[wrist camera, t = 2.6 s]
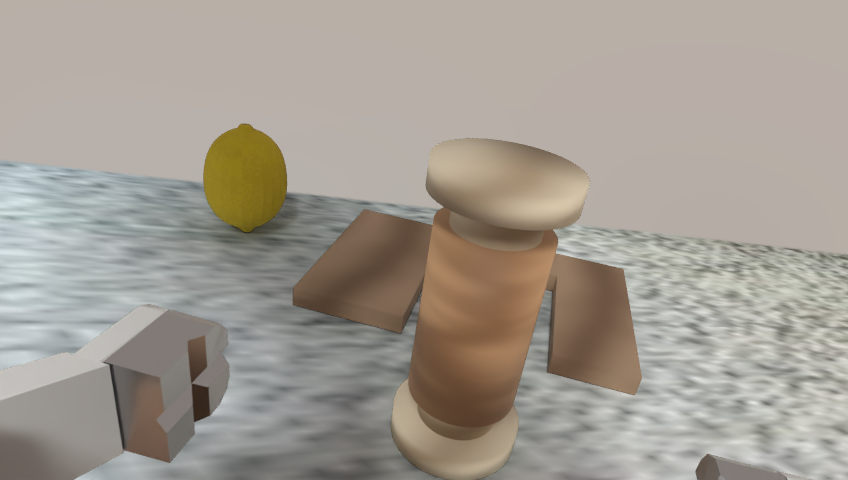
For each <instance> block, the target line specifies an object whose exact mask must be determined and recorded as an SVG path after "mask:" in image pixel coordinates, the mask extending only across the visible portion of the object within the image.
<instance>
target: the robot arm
mask: <svg viewBox="0 0 848 480" xmlns="http://www.w3.org/2000/svg"><path fill="white" fill-rule="evenodd" d="M227 345H228V335H227V329H226V328H225V327H224V326H222V325H221V324H218V323H214V322H211V321H207V320H204V319H201V318H197V317H194V316H190V315H187V314H183V313H180V312H177V311H171V310H168V309H164V308H161V307H158V306H154V305H151V304H146V305H140V306H139V307H137V308H136V309H134V310H133V311H132V312H130V313H129V314H128V315H126V316H125V317H124V318H122V319H121V320H119V321H118V322H117V323H115V324H114V325H113V326H111V327H110V328H108V329H107V330H106V331H104V332H103V333H102V334H100V335H99V336H98V337H96V338H95V339H93V340H92V341H91V342H89V343H88V344H87V345H85V346H84V347H83V348H81V349H80V350H78V351H77V352H76V353H74V354H71V353H67V352H64V353H60V354H57V355H53V356H50V357H46V358H42V359H39V360H35V361H32V362H28V363H25V364H21V365H18V366H14V367H11V368H7V369H4V370H0V480H74V479H75V478H77V477H79V476H81V475H83V474H85V473H87V472H89V471H91V470H92V469H94V468H96V467H98V466H100V465H102V464H104V463H106V462H107V461H109V460H111V459H113V458H115V457H117V456H119V455H121V454H123V452H124V451H123V450H125V451H129V452H132V453H136V454H139V455H143V456H146V457H150V458H154V459H157V460H161V461H164V462H168V463H170V462H171V461H172V460H173V459H174V458H175V457H176V455H177V454H178V453H179V452H180V451H181V450H182V448H183V447H184V446H185V445H186V444H187V442H188V441H189V440H190V439H191V438H192V437H193V435H194V434H195V427H194V422H196V421H199V420H201V419H203V418H206V417H208V416H210V415H211V414H212V413H213V411H214V410H215V409H216V408H217V406H218V405H219V404H220V402H221V400H222V398H223V396H224V394H225V391H226V389H227V386H228V380H229V364H228V362H227V361H226V359H225V358H224V356H223V355H222V353H221V352H222V351H223V350H224V349H225V347H226V346H227ZM695 472H696V476H697V480H811V479H807V478H803V477H799V476H795V475H791V474H787V473H783V472H775V471H772V470H768V469H764V468H761V467H757V466H753V465H749V464H745V463H741V462H737V461H734V460H730V459H726V458H722V457H718V456H714V455H710V454H707V455H706V456H705V457H704V458H702V459H701V461H700V463H699V465H698V467H697V469H696V471H695Z"/></svg>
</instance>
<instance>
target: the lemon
mask: <svg viewBox="0 0 848 480" xmlns="http://www.w3.org/2000/svg"><path fill="white" fill-rule="evenodd" d="M203 175H204V176H203V177H204V178H203V180H204V190H205V195H206V198H207V201H208V203H209V205H210V207H211V209H212V210H213V211H214V213H215V214H216V215H217V216H218V217H219V218H220V219H221V220H223V221H224V222H226V223H228V224H230V225H232V226H235V227H238V228H239V229H241V230H242V231H243V232H250V231H252V230H253V229H254V228H255V227H258V226H261V225H263V224H265V223H267V222H269V221H270V220H271V219H272V218H274V217H275V216H276V215H277V213H278V212H279V210H280V209H281V207H282V205H283V203H284V200H285V196H286V191H287V173H286V166H285V162H284V158H283V155H282V153H281V151H280V149H279V147H278V146H277V144H276V143H275V142H274V141H273V140H272V139H271V138H270V137H269V136H267V135H266V134H264V133H263V132H261V131H258V130H256V129H254V128H253V127H252V126H251V125H249V124H240V125H239V126H238V128H236V129H232V130H229V131H227V132H225V133H224V134H222V135H221V136H219V137H218V138H217V139H216V140H215V141H214V142H213V144H212V145H211V147H210V149H209V151H208V153H207V157H206V160H205V165H204V174H203Z"/></svg>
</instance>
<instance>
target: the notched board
mask: <svg viewBox="0 0 848 480" xmlns="http://www.w3.org/2000/svg"><path fill="white" fill-rule="evenodd" d="M432 226H433V225H430V224H426V223H421V222H417V221H413V220H408V219H404V218H400V217H395V216H391V215H387V214H382V213H378V212H374V211H369V210H365V209H364V210H363V211H362V212H361V214H360V215H359V216H358V217H357V218H356V219H355V220H354V221H353V222H352V224H351V225H350V226H349V227H348V228H347V229H346V230H345V231H344V232H343V233H342V235H341V236H340V237H339V238H338V239H337V240H336V241H335V242H334V243H333V245H332V246H331V247H330V248H329V249H328V250H327V251H326V252H325V253H324V254H323V256H322V257H321V258H320V259H319V260H318V261H317V262H316V263H315V264H314V266H313V267H312V268H311V269H310V270H309V271H308V272H307V273H306V274H305V275H304V277H303V278H302V279H301V280H300V281H299V282H298V283H297V284H296V285H295V287H294V288H293V305H296V306H299V307H303V308H307V309H311V310H314V311H318V312H322V313H326V314H330V315H333V316H337V317H341V318H345V319H349V320H352V321H356V322H360V323H364V324H367V325H371V326H375V327H379V328H383V329H386V330H390V331H394V332H398V333H401V332H402V330H403V328H404V326H405V324H406V322H407V320H408V318H409V316H410V314H411V311H412V309H413V307H414V305H415V303H416V301H417V299H418V297H419V295H420V293H421V291H422V289H423V283H424V277H425V270H426V264H427V258H428V251H429V245H430V239H431V232H432ZM545 289H546V290H550V291H553V296H552V311H551V326H550V341H549V356H548V371H547V372H549V373H553V374H557V375H560V376H564V377H568V378H572V379H576V380H579V381H583V382H587V383H591V384H595V385H598V386H602V387H606V388H610V389H613V390H617V391H621V392H625V393H629V394H632V395H635V394H636V391H637V389H638V386H639V384H640V381H641V379H642V376H641V370H640V364H639V358H638V353H637V347H636V341H635V335H634V329H633V323H632V317H631V311H630V305H629V300H628V294H627V288H626V282H625V276H624V270H623V269H621V268H616V267H612V266H608V265H603V264H599V263H595V262H590V261H586V260H582V259H577V258H573V257H569V256H564V255H560V254H556V253H555V256H554V260H553V263H552V267H551V270H550V274H549V278H548V281H547V285H546V288H545Z"/></svg>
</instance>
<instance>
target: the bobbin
mask: <svg viewBox="0 0 848 480" xmlns="http://www.w3.org/2000/svg"><path fill="white" fill-rule="evenodd" d="M589 185H590V178H589V176H588V175H587V173H586V172H585V171H584V170H582V169H581V168H580V167H579V166H577V165H576V164H574V163H572V162H571V161H569V160H567V159H565V158H563V157H560V156H558V155H555V154H553V153H550V152H547V151H544V150H541V149H538V148H534V147H531V146H527V145H522V144H518V143H513V142H507V141H501V140H491V139H477V138H476V139H474V138H467V139H455V140H449V141H444V142H442V143H439V144H437V145H435V146H434V147H433V148H432V149H431V152H430V158H429V165H428V171H427V178H426V190H427V191H428V193H429V195H430V196H431V197H432V198H433V199H434V200H435V201H436V202H438V203H439V204H441V205H442V206H443V208H442V209H440V210H439V211H438V212H437V213H436V214H435V216H434V220H433V226H432V232H431V239H430V245H429V251H428V258H427V264H426V270H425V277H424V283H423V289H422V296H421V302H420V308H419V314H418V321H417V327H416V333H415V340H414V346H413V352H412V359H411V365H410V371H409V378H408V379H406V380H405V381H404V382H403V383H402V384H401V386H400V387H399V388H398V390H397V392H396V395H395V398H394V404H393V410H392V417H391V432H392V437H393V439H394V442H395V444H396V446H397V448H398V449H399V451H400V452H401V453H402V455H403V456H404V457H405V458H406V459H407V460H408V461H409V462H411V463H412V464H413V465H414V466H416V467H417V468H419V469H421V470H422V471H424V472H426V473H428V474H430V475H433V476H436V477H439V478H442V479H447V480H477V479H482V478H484V477H487V476H489V475H491V474H493V473H495V472H496V471H498V470H499V469H500V468H501V467H502V466H503V465H504V464H505V463H506V462H507V460H508V459H509V457H510V454H511V452H512V448H513V445H514V442H515V438H516V435H517V431H518V415H517V412H516V409H515V407H514V405H513V403H514V399H515V396H516V392H517V389H518V385H519V381H520V378H521V374H522V371H523V367H524V363H525V360H526V356H527V353H528V349H529V346H530V342H531V338H532V335H533V331H534V328H535V324H536V320H537V317H538V313H539V310H540V306H541V303H542V299H543V295H544V292H545V288H546V285H547V281H548V278H549V274H550V270H551V267H552V263H553V260H554V256H555V252H556V249H557V245H558V238H557V236H556V234H555V232H554V231H553V229H559V228H563V227H566V226H569V225H571V224H573V223H575V222H576V221H577V220H578V219H579V217H580V216H581V213H582V209H583V206H584V202H585V199H586V195H587V192H588V189H589Z"/></svg>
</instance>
